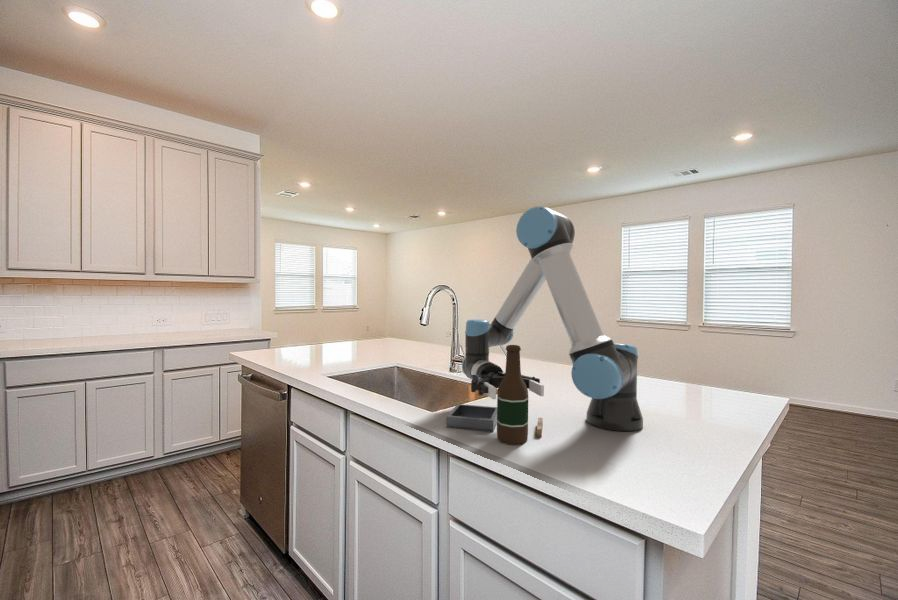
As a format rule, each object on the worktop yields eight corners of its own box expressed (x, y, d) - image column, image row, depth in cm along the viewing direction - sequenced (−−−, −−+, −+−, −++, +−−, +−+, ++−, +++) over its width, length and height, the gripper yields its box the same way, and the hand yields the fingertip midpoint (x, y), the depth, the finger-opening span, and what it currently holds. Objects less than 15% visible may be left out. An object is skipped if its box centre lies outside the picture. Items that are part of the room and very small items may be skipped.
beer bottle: (527, 446, 98) (528, 348, 97) (495, 444, 99) (496, 346, 99) (527, 435, 105) (529, 344, 105) (498, 433, 107) (499, 343, 107)
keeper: (499, 417, 121) (499, 407, 121) (493, 431, 108) (493, 420, 108) (457, 413, 124) (457, 404, 124) (446, 427, 111) (446, 416, 111)
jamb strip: (538, 424, 114) (538, 417, 114) (542, 425, 114) (542, 418, 114) (536, 436, 105) (536, 429, 105) (541, 437, 104) (541, 429, 104)
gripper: (524, 385, 123) (562, 404, 102) (448, 389, 116) (471, 410, 96) (525, 360, 123) (563, 374, 102) (448, 363, 116) (472, 379, 95)
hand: (519, 392), depth 99 cm, fingers open, 12 cm apart
